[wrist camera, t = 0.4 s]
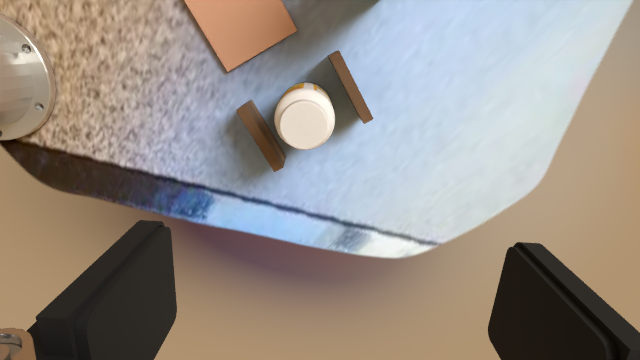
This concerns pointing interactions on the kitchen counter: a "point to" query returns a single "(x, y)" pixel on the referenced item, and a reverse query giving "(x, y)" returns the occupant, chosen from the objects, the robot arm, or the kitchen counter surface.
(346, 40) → the kitchen counter surface
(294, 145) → the supplement bottle
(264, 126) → the slot rack
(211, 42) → the terracotta tile
